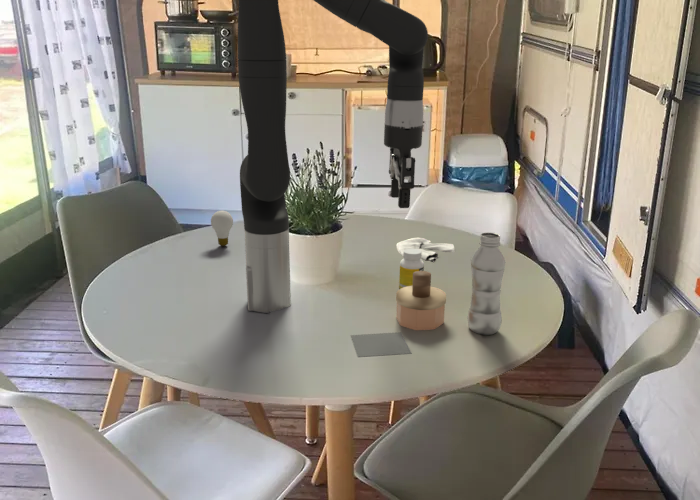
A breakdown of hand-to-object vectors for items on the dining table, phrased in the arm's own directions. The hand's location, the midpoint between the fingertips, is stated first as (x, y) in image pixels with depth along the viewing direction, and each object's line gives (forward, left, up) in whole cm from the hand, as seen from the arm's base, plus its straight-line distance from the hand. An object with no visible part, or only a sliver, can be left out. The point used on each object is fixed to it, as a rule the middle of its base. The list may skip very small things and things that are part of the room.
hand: (399, 202), depth 139 cm
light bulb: (-38, +47, -23) cm, 64 cm away
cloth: (+16, +35, -24) cm, 45 cm away
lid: (+3, -9, -18) cm, 20 cm away
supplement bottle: (+5, +8, -23) cm, 25 cm away
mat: (-7, -18, -23) cm, 30 cm away
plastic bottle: (+14, -15, -23) cm, 31 cm away
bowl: (+3, -9, -23) cm, 25 cm away
